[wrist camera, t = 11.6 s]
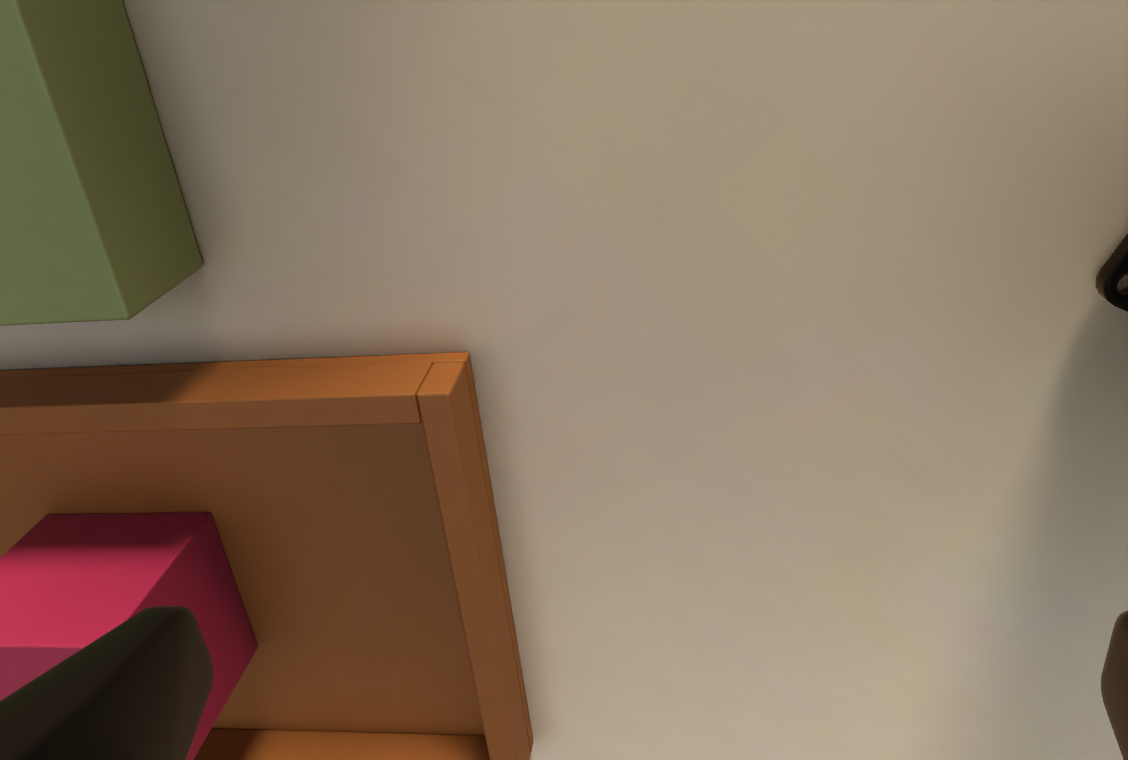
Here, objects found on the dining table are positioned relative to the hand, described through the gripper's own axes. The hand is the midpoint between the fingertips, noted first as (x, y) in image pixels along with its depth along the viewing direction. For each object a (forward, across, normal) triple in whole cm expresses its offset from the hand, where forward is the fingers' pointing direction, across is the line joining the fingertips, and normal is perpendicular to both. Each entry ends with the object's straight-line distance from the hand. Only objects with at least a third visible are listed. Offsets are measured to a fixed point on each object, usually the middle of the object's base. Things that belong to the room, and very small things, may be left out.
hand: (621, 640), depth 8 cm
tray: (+12, +15, +9) cm, 21 cm away
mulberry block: (+12, +15, +9) cm, 21 cm away
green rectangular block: (+12, +14, -3) cm, 19 cm away
